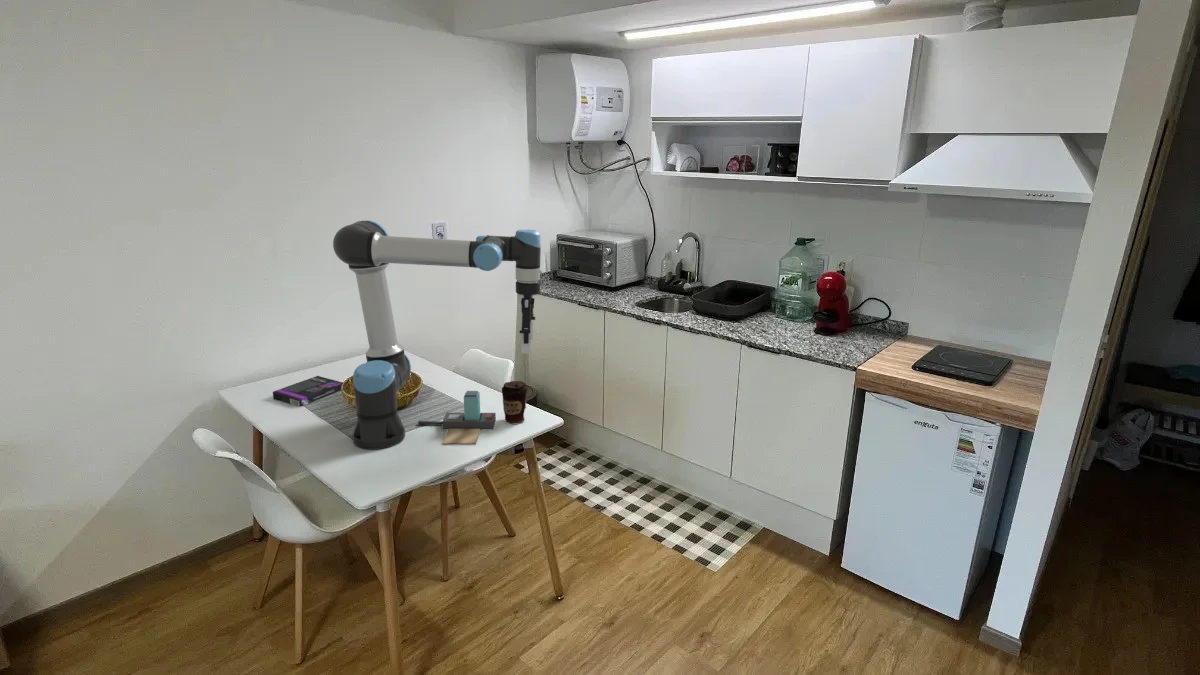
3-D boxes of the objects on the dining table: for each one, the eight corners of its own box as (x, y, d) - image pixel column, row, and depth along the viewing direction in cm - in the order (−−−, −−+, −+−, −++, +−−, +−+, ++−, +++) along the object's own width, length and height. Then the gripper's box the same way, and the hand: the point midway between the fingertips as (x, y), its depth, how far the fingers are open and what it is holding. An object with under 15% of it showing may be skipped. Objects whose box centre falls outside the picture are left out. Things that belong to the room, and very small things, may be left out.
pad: (442, 444, 190) (442, 442, 190) (448, 430, 200) (448, 428, 199) (475, 444, 191) (475, 442, 190) (480, 430, 200) (480, 428, 200)
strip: (415, 429, 200) (414, 419, 199) (420, 420, 206) (419, 410, 205) (493, 429, 201) (492, 419, 200) (495, 420, 207) (495, 411, 206)
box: (300, 409, 215) (345, 390, 231) (299, 400, 214) (344, 381, 230) (273, 401, 221) (319, 382, 237) (271, 391, 220) (318, 374, 236)
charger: (464, 426, 201) (463, 395, 198) (467, 420, 206) (465, 390, 203) (478, 426, 202) (477, 395, 199) (480, 420, 206) (479, 390, 203)
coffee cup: (522, 427, 203) (522, 390, 199) (498, 424, 204) (497, 387, 201) (530, 416, 211) (530, 380, 207) (507, 414, 213) (506, 378, 209)
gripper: (538, 289, 182) (537, 359, 188) (541, 273, 206) (541, 335, 212) (512, 289, 181) (512, 358, 188) (518, 272, 205) (518, 334, 211)
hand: (527, 346), depth 200 cm, fingers open, 13 cm apart
